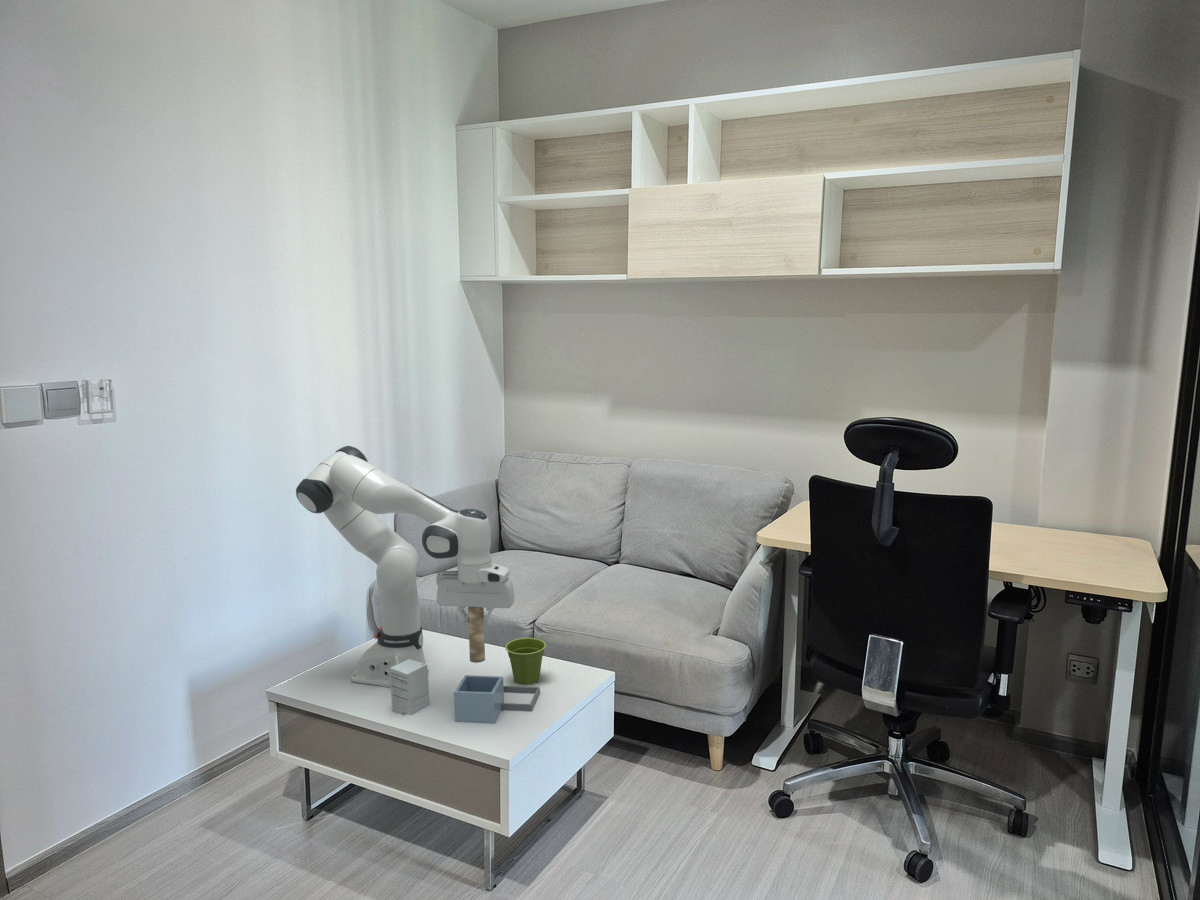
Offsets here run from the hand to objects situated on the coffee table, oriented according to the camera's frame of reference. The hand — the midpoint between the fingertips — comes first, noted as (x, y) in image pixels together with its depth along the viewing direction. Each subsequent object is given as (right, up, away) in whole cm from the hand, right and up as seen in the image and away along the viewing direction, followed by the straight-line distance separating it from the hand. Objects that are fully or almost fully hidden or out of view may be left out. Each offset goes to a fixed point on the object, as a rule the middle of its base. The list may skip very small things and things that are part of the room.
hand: (476, 622), depth 220 cm
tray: (+9, -25, +11) cm, 29 cm away
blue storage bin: (0, -26, +4) cm, 26 cm away
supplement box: (-19, -26, +9) cm, 33 cm away
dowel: (0, -10, +2) cm, 10 cm away
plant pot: (+11, -23, +25) cm, 35 cm away
